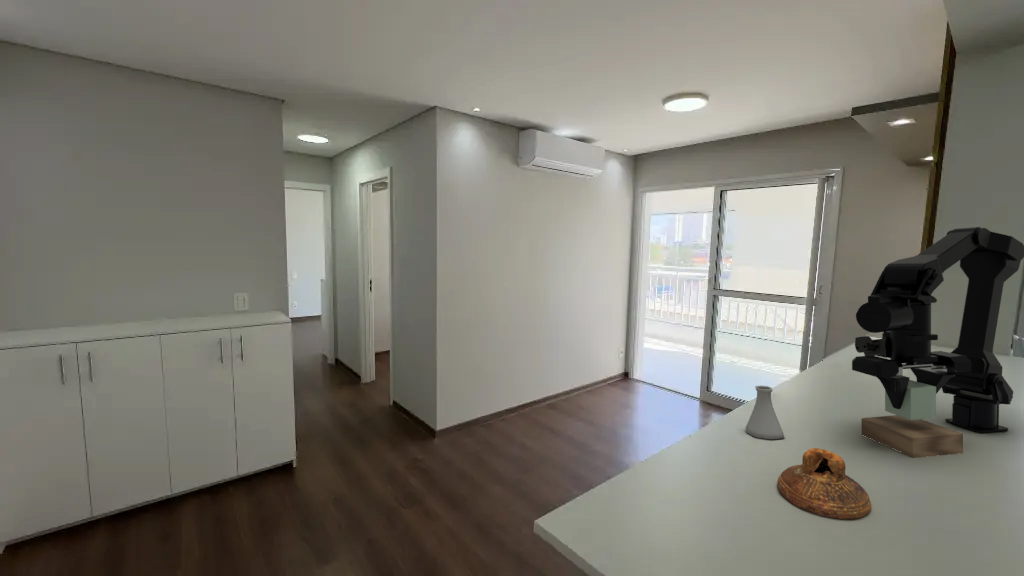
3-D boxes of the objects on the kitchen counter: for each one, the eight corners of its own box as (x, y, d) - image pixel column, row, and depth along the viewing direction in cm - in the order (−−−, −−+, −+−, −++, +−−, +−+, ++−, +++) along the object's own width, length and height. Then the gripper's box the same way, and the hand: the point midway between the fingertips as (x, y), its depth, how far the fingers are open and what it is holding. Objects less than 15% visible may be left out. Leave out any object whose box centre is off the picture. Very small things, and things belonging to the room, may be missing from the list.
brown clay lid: (885, 503, 62) (885, 456, 62) (848, 532, 56) (848, 480, 56) (800, 471, 72) (799, 431, 72) (761, 493, 66) (760, 449, 66)
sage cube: (908, 408, 82) (908, 379, 82) (935, 418, 77) (936, 386, 77) (885, 410, 82) (885, 381, 82) (910, 420, 77) (910, 388, 77)
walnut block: (906, 433, 85) (906, 414, 85) (962, 454, 75) (963, 433, 75) (861, 437, 84) (861, 418, 84) (912, 459, 74) (912, 438, 74)
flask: (791, 441, 83) (790, 393, 83) (752, 440, 85) (751, 392, 84) (775, 427, 90) (775, 382, 90) (740, 426, 92) (739, 382, 91)
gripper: (912, 319, 87) (912, 391, 88) (828, 324, 86) (829, 397, 87) (974, 327, 76) (973, 409, 77) (878, 333, 75) (878, 416, 76)
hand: (909, 407), depth 79 cm, fingers closed on sage cube, 5 cm apart
